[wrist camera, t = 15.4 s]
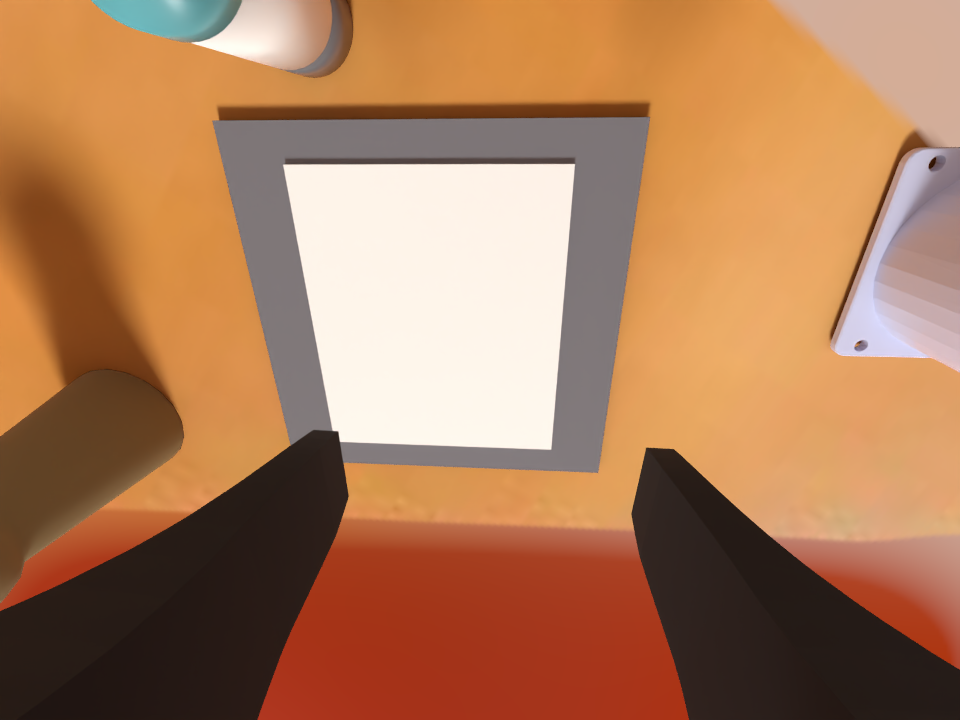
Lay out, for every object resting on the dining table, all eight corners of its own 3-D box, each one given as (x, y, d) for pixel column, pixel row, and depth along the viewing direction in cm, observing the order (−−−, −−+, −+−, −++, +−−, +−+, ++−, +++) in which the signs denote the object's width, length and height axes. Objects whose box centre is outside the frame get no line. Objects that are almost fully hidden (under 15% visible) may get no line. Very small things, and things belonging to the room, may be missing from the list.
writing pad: (647, 117, 16) (651, 116, 15) (596, 467, 23) (598, 475, 23) (218, 121, 17) (209, 120, 16) (297, 455, 24) (292, 462, 24)
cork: (57, 424, 24) (-251, 619, 14) (85, 347, 22) (-260, 516, 12) (162, 480, 26) (-54, 693, 16) (200, 413, 23) (-27, 613, 13)
